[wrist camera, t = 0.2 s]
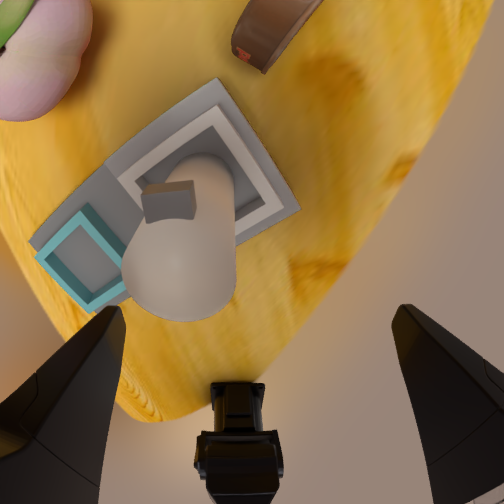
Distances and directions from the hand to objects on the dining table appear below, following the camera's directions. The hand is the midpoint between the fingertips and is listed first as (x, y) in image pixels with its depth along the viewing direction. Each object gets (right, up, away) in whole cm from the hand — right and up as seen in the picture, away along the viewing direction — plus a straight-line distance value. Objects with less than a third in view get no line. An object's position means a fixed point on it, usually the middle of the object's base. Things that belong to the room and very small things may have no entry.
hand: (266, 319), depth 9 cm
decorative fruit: (-14, +17, +6) cm, 23 cm away
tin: (+3, +20, +6) cm, 21 cm away
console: (-9, +5, +14) cm, 17 cm away
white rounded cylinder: (-4, +6, +10) cm, 12 cm away
